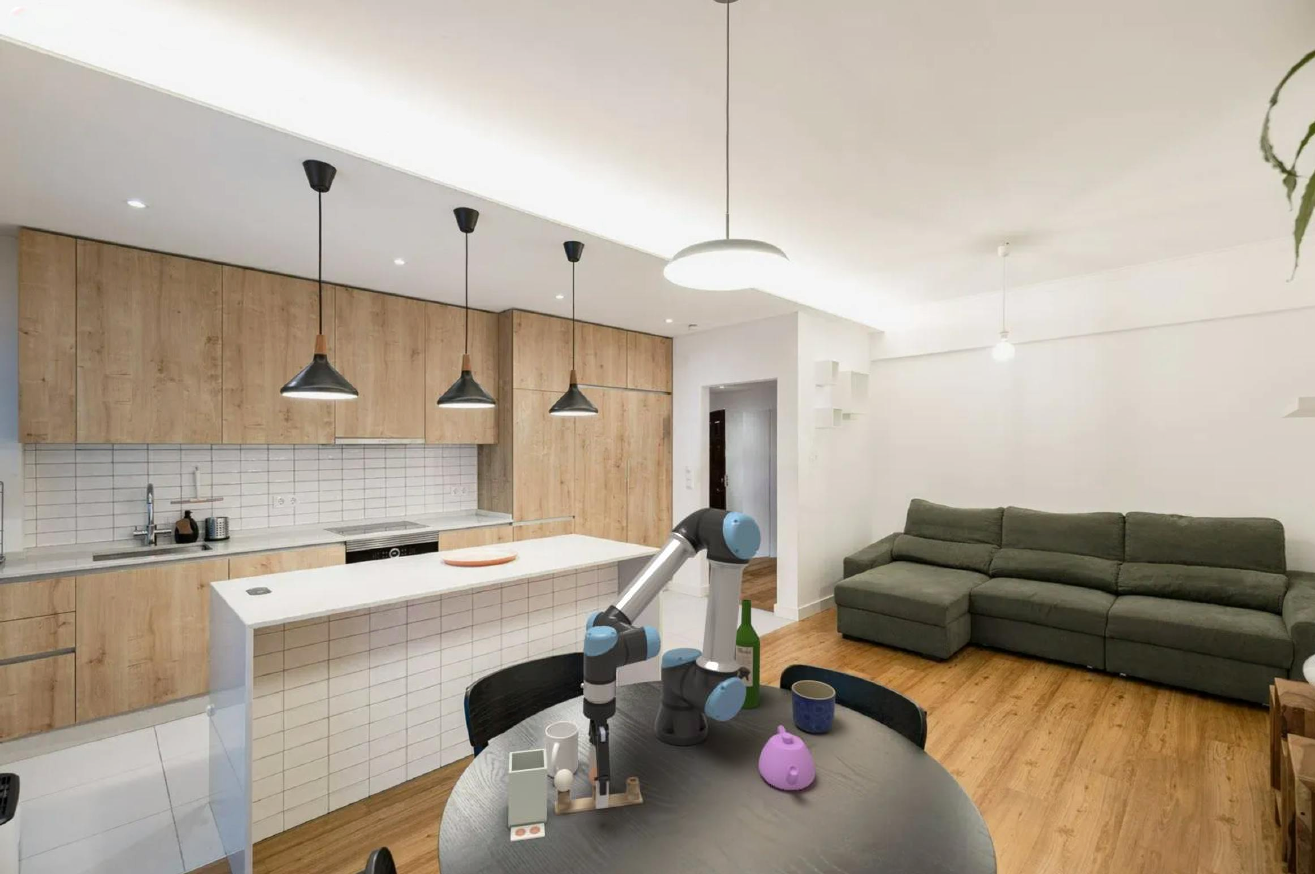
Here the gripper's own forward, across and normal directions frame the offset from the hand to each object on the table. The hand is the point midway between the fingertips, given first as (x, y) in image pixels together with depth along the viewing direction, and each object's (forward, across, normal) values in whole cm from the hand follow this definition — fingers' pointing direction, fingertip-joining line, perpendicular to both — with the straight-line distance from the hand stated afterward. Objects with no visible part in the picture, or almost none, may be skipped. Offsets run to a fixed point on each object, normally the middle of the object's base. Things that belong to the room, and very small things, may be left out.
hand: (598, 788), depth 134 cm
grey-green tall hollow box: (+4, 0, -16) cm, 16 cm away
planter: (+3, -22, +66) cm, 70 cm away
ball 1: (-1, 0, -8) cm, 8 cm away
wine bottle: (+3, -40, +52) cm, 66 cm away
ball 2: (-1, 0, 0) cm, 1 cm away
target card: (+4, +6, -16) cm, 17 cm away
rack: (+4, 0, 0) cm, 4 cm away
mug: (+4, -14, -8) cm, 16 cm away
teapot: (+4, 0, +47) cm, 47 cm away
